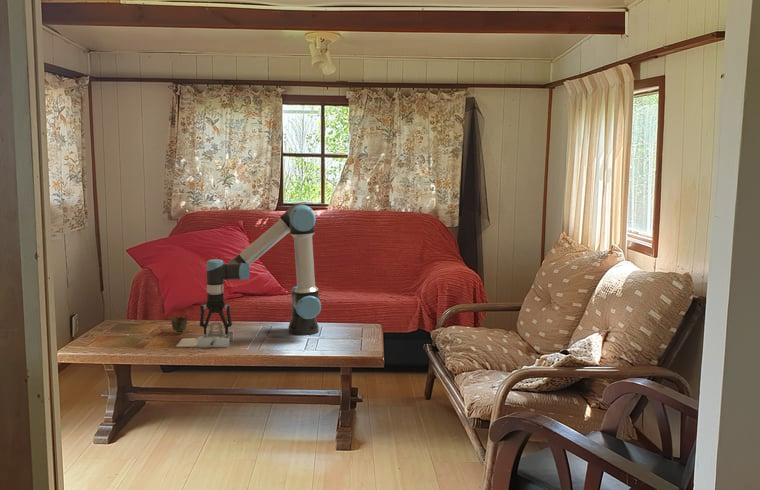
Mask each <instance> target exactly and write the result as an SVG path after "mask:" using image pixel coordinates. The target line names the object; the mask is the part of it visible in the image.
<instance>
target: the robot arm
mask: <svg viewBox="0 0 760 490" xmlns="http://www.w3.org/2000/svg"><path fill="white" fill-rule="evenodd" d="M316 220H317V219H316V213H315V211H314V210H313V209H312V207H310V206H308V205H306V204H304V203H295V204H292V205H291V206H290V207H289V208H287V210H286V211H285V212H284V213H283V214H281V215H280V216H279V217H278V221H277V222H276V223H274V224H273V225H272V226H271V227H269V228H268V229H267V230H266V231H264V233H262V234H261V235H260V236H259V237H258V238H257V239H255V240H254V241H253V242H252V243H250V244H249V245H248V246H247V247H246V248H245V249H243V250H242V251H241V252H239V254H237V255H236V256H235V257H233V258H231V259H230V260H229V261H228V263H224V260H223V259H217V258H215V259H209V260H207V262H206V293H207V294H206V302H207V303H206V304H201V305H200V311H201V312H200V320H199V326H200V327H202V328H203V331H204V334H206V336H208V333H209V330H210V326H208V325H209V322H210V320H211V317H212V314H219V317H220V319H221V321H222V323H223V326H224V327H222V330H223V337H226V334H228V330H229V328H230V327H231V326H232V325H233V322H232V315H231V314H232V313H231V307H232V306H231V304H226V303H225V296H224V295H225V294H224V292H225V291H224V290H225V288H224V282H225V281H235V280H236V281H240V280H241V281H243V280H249V279H250V277H251V276H250V274H251V271H250V267H251V265H252V264H253V263H255V262H256V261H257V260H258V259H259V258H260V257H262V256H263V255H264V254H265V253H266V252H268V251H269V250H270V249H271V248H273V246H275V245H276V244H277V243H278V242H279V241H281V240H282V239H283V238H284V237H286V236H287V234H290V235H291V236H292V237H293V244H294V259H295V260H294V261H295V272H296V274H295V276H296V286H293V287H292V288H291V292H290V293H291V317H290V318H291V319H290V321H289V324H288V326H287V327H288V329H287V330H288V333H289V334H291V335H295V336H296V335H297V336H310V335H314V334H318V333H319V332H320V330H319V328H320V327H319V324H318V320H317V318H316V317H317V316H318V315H319V314H320V313H321V310H322V303H321V301H320V291H319V288H318V287H317V286H316V279H315V278H316V277H315V262H314V261H315V260H314V245H313V243H314V242H313V236H314V235H315V233H316V228H315V226H316V225H315V224H316ZM224 308H225V310H226V317H227V319H226V317H225V314H224V311H223V310H224ZM206 309H208V310H209V311H208V314H207V317H206V319H205V313H206ZM204 321H205V322H204Z"/></svg>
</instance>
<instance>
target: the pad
mask: <svg viewBox="0 0 760 490" xmlns="http://www.w3.org/2000/svg"><path fill="white" fill-rule="evenodd" d="M175 347H177V348H185V347H186V348H188V347H189V348H196V347H198V337H197V338H193V337H191V338H188V337H187V338H181V340H180V341H179V342H178V343H177V344H176V346H175Z"/></svg>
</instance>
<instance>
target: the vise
mask: <svg viewBox="0 0 760 490" xmlns="http://www.w3.org/2000/svg"><path fill="white" fill-rule="evenodd" d="M209 332H210V329H209ZM213 332H219V329H213ZM222 332H223V329H222ZM202 334H203V335H202V336H201V335H200V336H198V337H197V338H198V345H197V348H208V347H229V348H230V346H231V345H230V343H231V342H230V340H233V341H234V340H235V330H234V329H228V334H226V337H216V336H206V334H204V330H203V331H202Z"/></svg>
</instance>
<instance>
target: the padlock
mask: <svg viewBox="0 0 760 490" xmlns="http://www.w3.org/2000/svg"><path fill="white" fill-rule="evenodd" d="M216 325H217V326H218V328H219V329H218V330H219V332H213V330H214V326H216ZM209 330H210V332H209V333H208V336H216V337H223V332H222V330H223V327H222V324H221V323H220V322H212V323H211V324H210V326H209Z"/></svg>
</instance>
